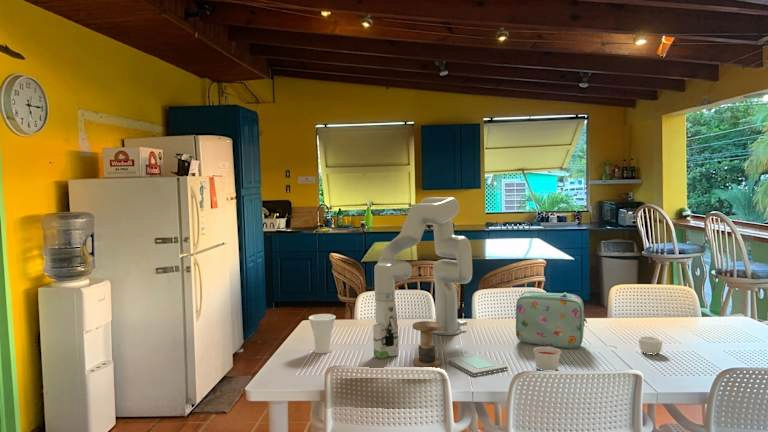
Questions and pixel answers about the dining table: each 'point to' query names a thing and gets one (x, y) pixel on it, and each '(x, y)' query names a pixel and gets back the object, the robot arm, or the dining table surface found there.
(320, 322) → the cup
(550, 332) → the lunch box
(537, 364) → the candle
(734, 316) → the dining table surface
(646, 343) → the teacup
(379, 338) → the ink box
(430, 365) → the bobbin
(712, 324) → the dining table surface
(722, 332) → the dining table surface
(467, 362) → the board
